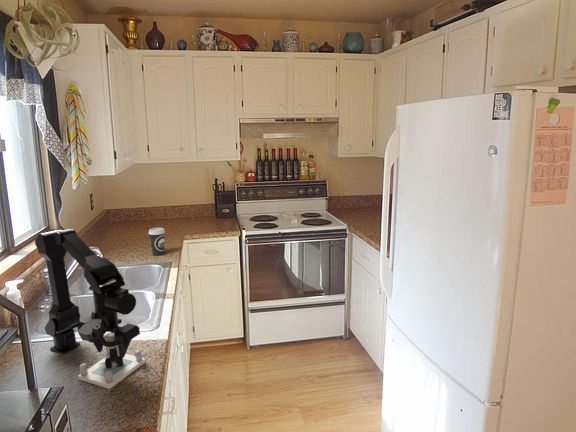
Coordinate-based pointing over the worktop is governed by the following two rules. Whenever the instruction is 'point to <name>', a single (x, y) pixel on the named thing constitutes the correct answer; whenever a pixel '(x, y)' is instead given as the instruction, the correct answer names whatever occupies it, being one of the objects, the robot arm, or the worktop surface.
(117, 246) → the worktop surface
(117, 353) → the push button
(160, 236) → the coffee cup
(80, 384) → the worktop surface
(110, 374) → the board
